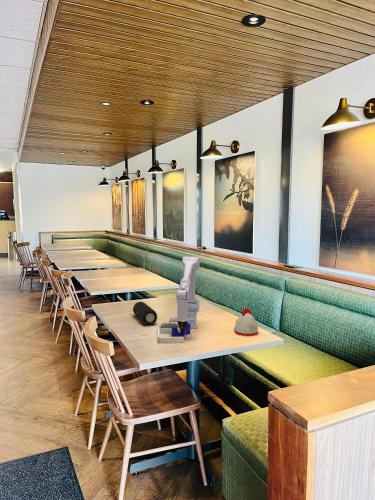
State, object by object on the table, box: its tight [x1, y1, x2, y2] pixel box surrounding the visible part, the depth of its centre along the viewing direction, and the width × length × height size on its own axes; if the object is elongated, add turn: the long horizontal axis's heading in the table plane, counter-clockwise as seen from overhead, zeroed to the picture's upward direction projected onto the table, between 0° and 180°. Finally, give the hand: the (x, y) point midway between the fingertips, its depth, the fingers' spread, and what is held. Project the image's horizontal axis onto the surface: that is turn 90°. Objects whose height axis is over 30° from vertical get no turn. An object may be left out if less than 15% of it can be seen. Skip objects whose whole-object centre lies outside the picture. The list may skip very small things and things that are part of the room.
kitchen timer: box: [233, 307, 259, 337], centre depth 214 cm, size 14×14×15 cm
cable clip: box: [171, 323, 191, 338], centre depth 207 cm, size 12×4×6 cm, turn 135°
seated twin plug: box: [160, 322, 178, 328], centre depth 212 cm, size 4×10×5 cm, turn 96°
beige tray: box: [157, 325, 185, 344], centre depth 205 cm, size 21×14×3 cm, turn 6°
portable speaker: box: [132, 301, 158, 326], centre depth 234 cm, size 26×10×10 cm, turn 24°
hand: (182, 334), depth 202 cm, fingers closed
